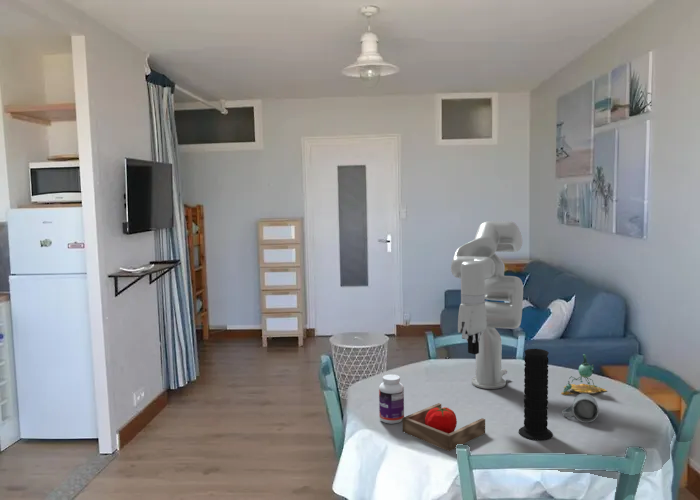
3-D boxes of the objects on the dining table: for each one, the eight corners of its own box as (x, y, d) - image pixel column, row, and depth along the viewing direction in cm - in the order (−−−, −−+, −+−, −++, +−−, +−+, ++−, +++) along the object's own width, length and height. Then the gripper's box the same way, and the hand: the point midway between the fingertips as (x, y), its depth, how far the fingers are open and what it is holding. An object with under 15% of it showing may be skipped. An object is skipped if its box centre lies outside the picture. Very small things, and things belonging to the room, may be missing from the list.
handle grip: (544, 425, 181) (513, 427, 180) (545, 343, 178) (513, 344, 177) (558, 439, 171) (525, 441, 170) (560, 352, 168) (526, 354, 167)
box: (438, 416, 190) (438, 403, 189) (485, 433, 176) (485, 419, 176) (402, 431, 179) (402, 417, 178) (449, 451, 165) (449, 436, 164)
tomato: (419, 436, 175) (419, 409, 174) (437, 425, 183) (436, 399, 182) (446, 444, 169) (446, 417, 168) (463, 432, 177) (463, 406, 176)
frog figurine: (552, 387, 213) (557, 348, 212) (599, 391, 214) (604, 352, 213) (563, 397, 204) (568, 356, 203) (612, 400, 205) (617, 359, 204)
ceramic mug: (596, 414, 188) (596, 391, 188) (598, 424, 181) (598, 400, 180) (562, 411, 192) (562, 388, 191) (562, 420, 184) (562, 397, 183)
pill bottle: (375, 417, 190) (374, 375, 189) (397, 413, 193) (396, 371, 192) (386, 426, 183) (385, 382, 181) (408, 422, 186) (407, 379, 184)
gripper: (477, 292, 195) (477, 345, 197) (449, 301, 185) (450, 356, 187) (496, 296, 189) (496, 350, 192) (468, 305, 179) (468, 361, 182)
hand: (473, 353), depth 190 cm, fingers closed
